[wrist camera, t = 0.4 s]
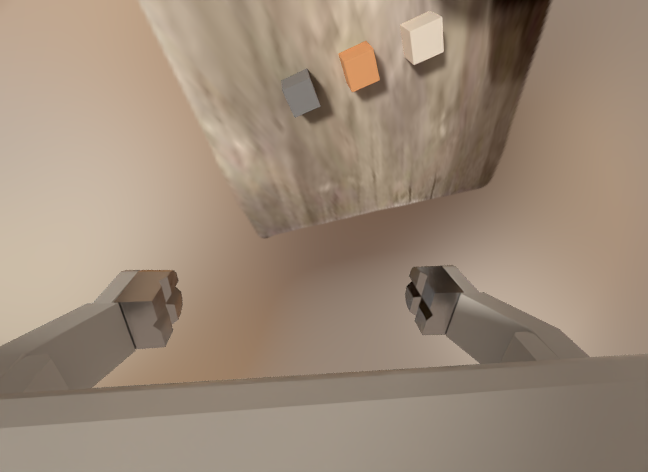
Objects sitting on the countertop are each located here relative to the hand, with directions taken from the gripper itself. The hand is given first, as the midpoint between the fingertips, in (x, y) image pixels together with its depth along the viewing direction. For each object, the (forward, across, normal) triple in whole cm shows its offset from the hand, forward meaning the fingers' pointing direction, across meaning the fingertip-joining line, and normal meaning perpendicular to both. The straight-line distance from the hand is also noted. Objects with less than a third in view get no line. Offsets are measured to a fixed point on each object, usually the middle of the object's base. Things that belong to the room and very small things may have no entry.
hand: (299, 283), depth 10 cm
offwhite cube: (+49, -21, -14) cm, 55 cm away
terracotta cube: (+50, -12, -10) cm, 52 cm away
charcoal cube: (+51, -2, -5) cm, 51 cm away
